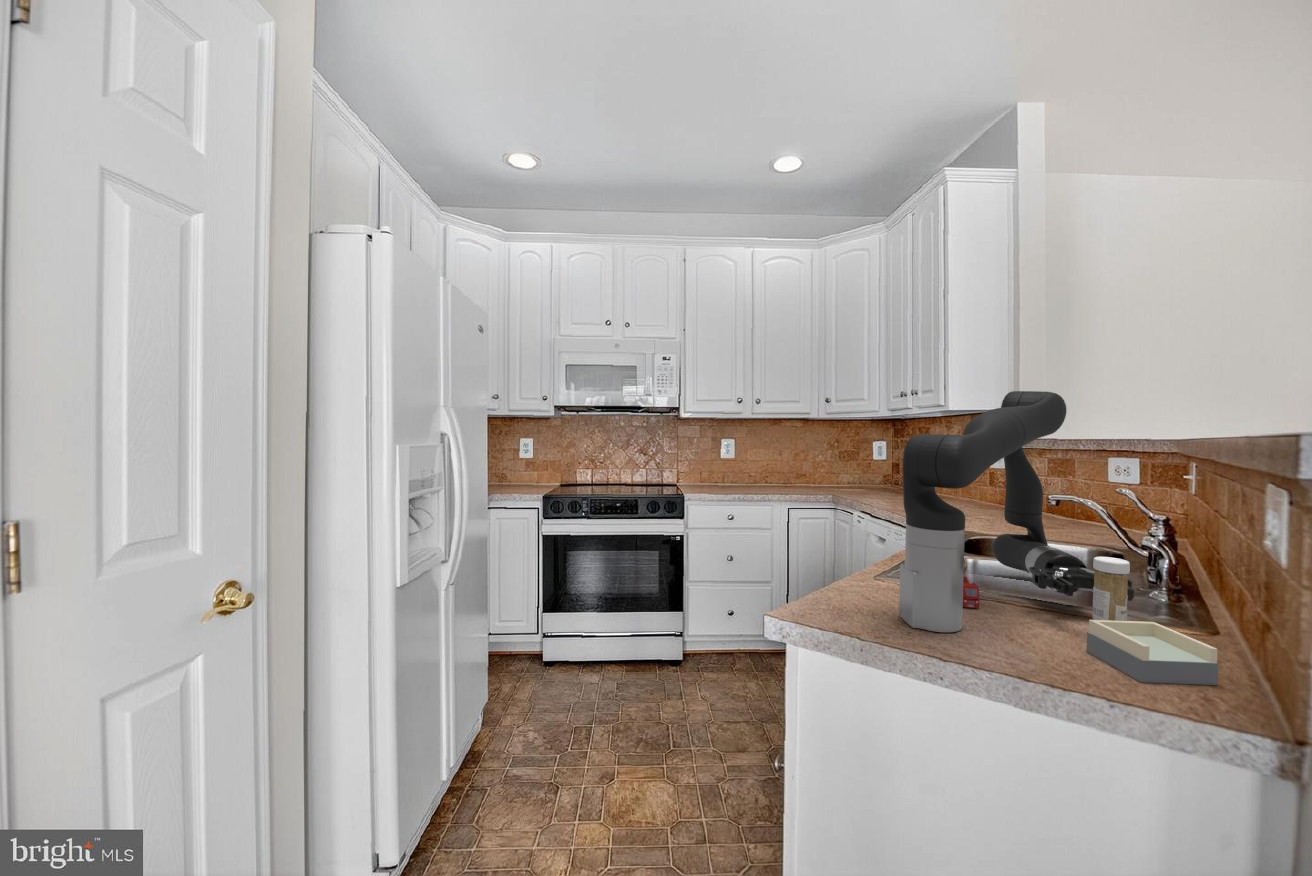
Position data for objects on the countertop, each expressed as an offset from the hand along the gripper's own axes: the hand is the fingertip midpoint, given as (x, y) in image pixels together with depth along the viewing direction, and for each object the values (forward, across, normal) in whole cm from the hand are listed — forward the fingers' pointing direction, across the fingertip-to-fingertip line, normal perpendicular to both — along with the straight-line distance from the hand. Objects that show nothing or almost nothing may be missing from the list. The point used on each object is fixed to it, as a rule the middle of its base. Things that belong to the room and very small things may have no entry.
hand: (1100, 592), depth 91 cm
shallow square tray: (+13, 0, +7) cm, 15 cm away
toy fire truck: (-14, -18, +7) cm, 24 cm away
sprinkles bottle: (+3, 0, +7) cm, 8 cm away
